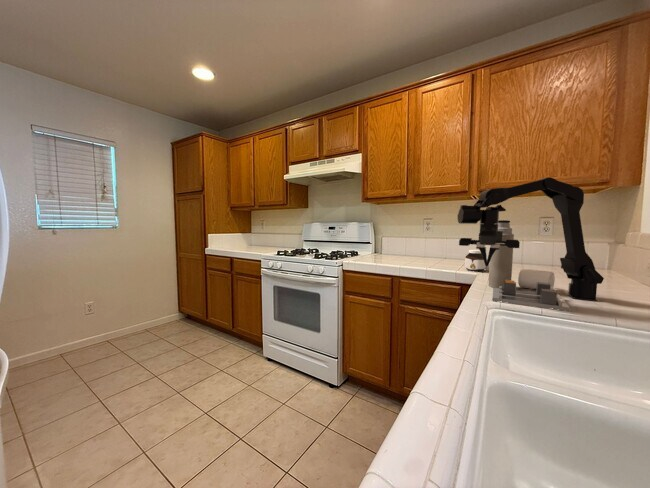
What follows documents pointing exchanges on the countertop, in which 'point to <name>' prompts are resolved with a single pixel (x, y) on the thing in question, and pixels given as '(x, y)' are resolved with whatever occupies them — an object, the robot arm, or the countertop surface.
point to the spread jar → (475, 261)
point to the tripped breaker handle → (509, 287)
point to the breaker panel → (533, 297)
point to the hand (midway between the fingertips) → (486, 265)
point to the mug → (535, 278)
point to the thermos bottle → (501, 258)
